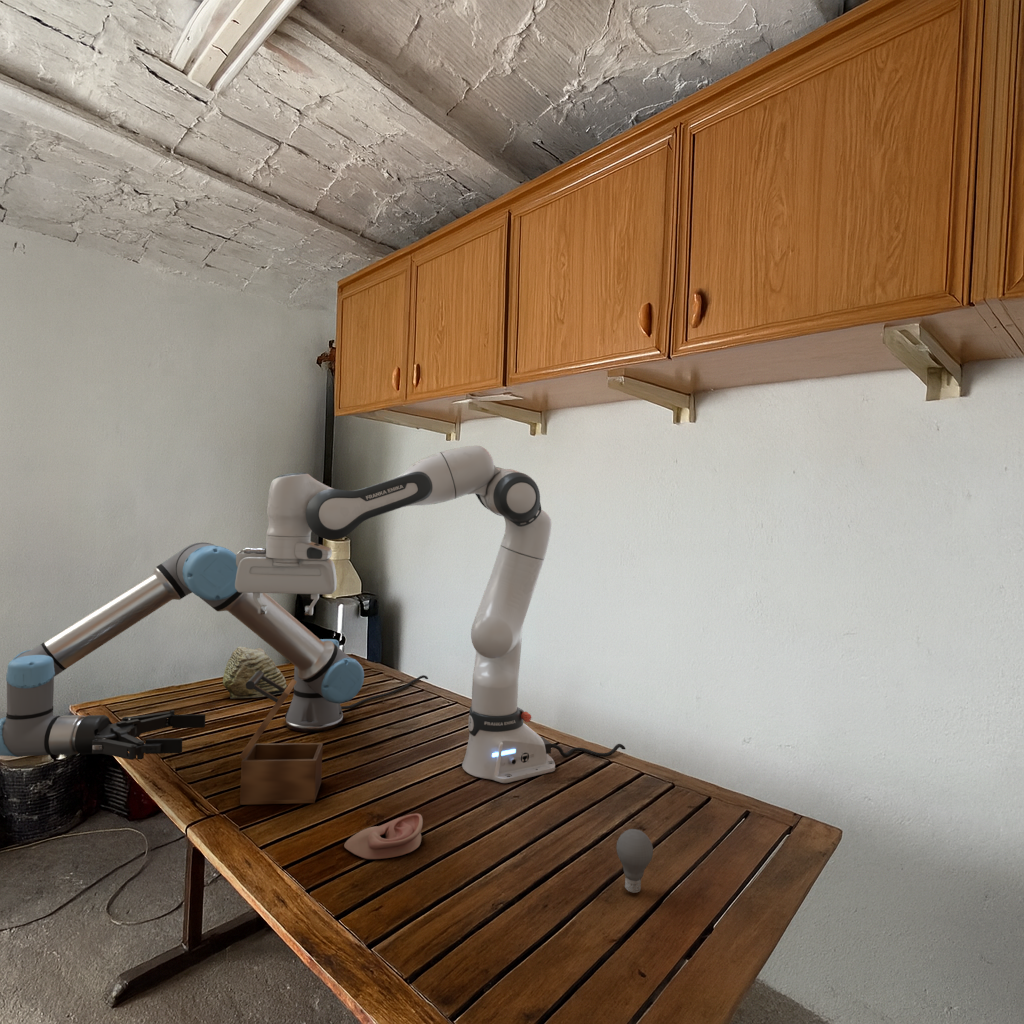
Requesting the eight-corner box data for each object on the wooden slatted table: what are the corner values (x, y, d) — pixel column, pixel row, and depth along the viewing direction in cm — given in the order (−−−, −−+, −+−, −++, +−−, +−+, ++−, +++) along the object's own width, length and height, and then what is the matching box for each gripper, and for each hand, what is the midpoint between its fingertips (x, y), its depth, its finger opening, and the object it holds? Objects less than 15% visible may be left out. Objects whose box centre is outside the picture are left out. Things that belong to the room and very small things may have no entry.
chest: (321, 782, 140) (322, 742, 140) (314, 803, 131) (316, 760, 131) (251, 784, 138) (253, 743, 138) (239, 804, 129) (241, 761, 129)
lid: (297, 681, 139) (264, 661, 138) (288, 694, 130) (252, 673, 129) (255, 742, 138) (221, 722, 137) (244, 759, 129) (207, 738, 128)
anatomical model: (336, 832, 112) (364, 802, 124) (336, 854, 112) (363, 822, 124) (407, 843, 110) (429, 812, 121) (406, 866, 110) (428, 832, 121)
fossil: (218, 695, 195) (220, 647, 195) (278, 685, 208) (279, 640, 207) (228, 703, 189) (230, 653, 188) (289, 692, 201) (290, 645, 201)
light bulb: (610, 879, 108) (613, 822, 108) (644, 879, 109) (647, 822, 109) (619, 902, 102) (622, 840, 102) (655, 901, 103) (658, 840, 103)
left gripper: (111, 730, 141) (212, 728, 144) (46, 780, 116) (170, 777, 119) (112, 696, 141) (213, 695, 144) (47, 740, 116) (170, 737, 119)
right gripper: (232, 548, 129) (229, 616, 129) (335, 552, 132) (332, 618, 132) (240, 546, 135) (238, 610, 135) (339, 549, 138) (336, 612, 138)
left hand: (194, 732), depth 131 cm, fingers open, 13 cm apart
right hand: (285, 614), depth 134 cm, fingers open, 8 cm apart
